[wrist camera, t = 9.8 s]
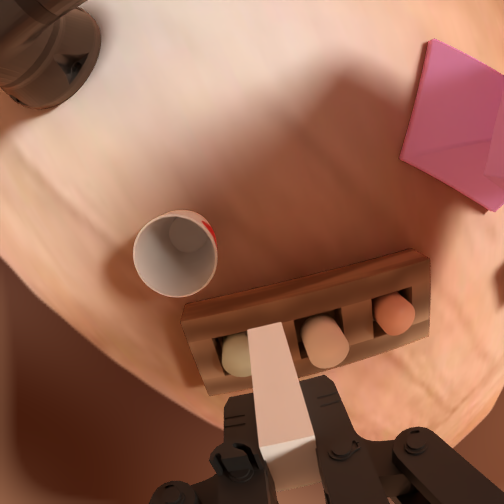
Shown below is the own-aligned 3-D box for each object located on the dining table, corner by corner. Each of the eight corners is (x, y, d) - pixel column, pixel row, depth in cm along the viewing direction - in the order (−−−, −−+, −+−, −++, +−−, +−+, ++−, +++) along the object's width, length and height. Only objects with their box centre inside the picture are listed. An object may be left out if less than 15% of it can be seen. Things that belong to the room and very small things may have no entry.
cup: (219, 267, 40) (215, 300, 31) (155, 262, 40) (134, 294, 30) (223, 202, 38) (220, 216, 29) (156, 199, 38) (132, 212, 28)
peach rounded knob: (297, 319, 39) (305, 340, 34) (334, 309, 39) (347, 328, 34) (303, 350, 40) (311, 373, 35) (338, 340, 40) (350, 361, 35)
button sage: (218, 328, 41) (217, 349, 36) (254, 320, 41) (257, 341, 36) (228, 357, 42) (227, 380, 37) (262, 350, 42) (266, 372, 37)
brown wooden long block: (185, 304, 42) (180, 322, 37) (411, 248, 41) (430, 258, 37) (210, 374, 45) (209, 396, 40) (413, 320, 45) (428, 336, 40)
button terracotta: (366, 291, 41) (381, 307, 36) (397, 282, 41) (415, 297, 36) (368, 322, 42) (382, 340, 37) (398, 312, 42) (414, 329, 37)
